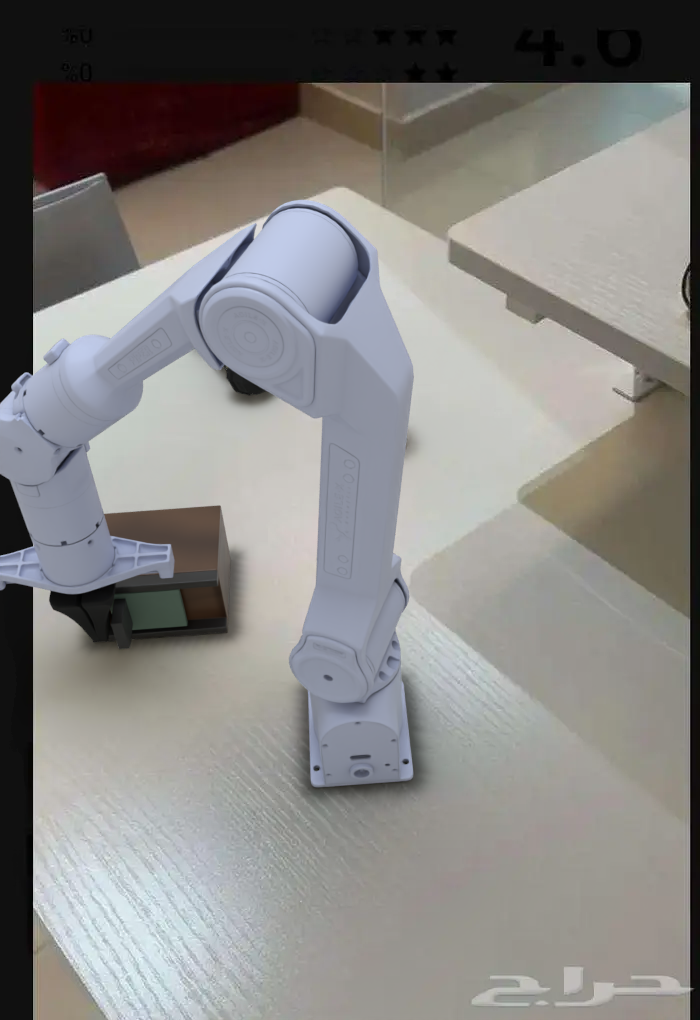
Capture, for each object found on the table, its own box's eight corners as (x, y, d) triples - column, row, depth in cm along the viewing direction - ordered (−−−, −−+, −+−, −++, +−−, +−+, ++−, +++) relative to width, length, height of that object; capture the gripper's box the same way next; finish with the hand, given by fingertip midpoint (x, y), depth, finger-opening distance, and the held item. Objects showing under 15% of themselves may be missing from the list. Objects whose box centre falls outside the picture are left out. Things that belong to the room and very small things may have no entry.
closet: (227, 633, 94) (216, 580, 89) (92, 642, 94) (74, 590, 89) (230, 557, 100) (220, 504, 96) (104, 567, 100) (88, 514, 95)
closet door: (185, 651, 91) (176, 615, 88) (113, 656, 91) (101, 620, 88) (187, 621, 94) (178, 584, 90) (117, 626, 94) (106, 590, 90)
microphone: (177, 348, 131) (255, 413, 117) (154, 313, 127) (231, 376, 113) (212, 321, 131) (292, 383, 117) (190, 286, 127) (271, 345, 113)
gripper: (164, 477, 83) (189, 591, 93) (-20, 490, 83) (24, 603, 93) (158, 541, 78) (185, 655, 88) (-38, 555, 78) (10, 667, 88)
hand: (102, 633), depth 90 cm, fingers closed, pressing on closet
